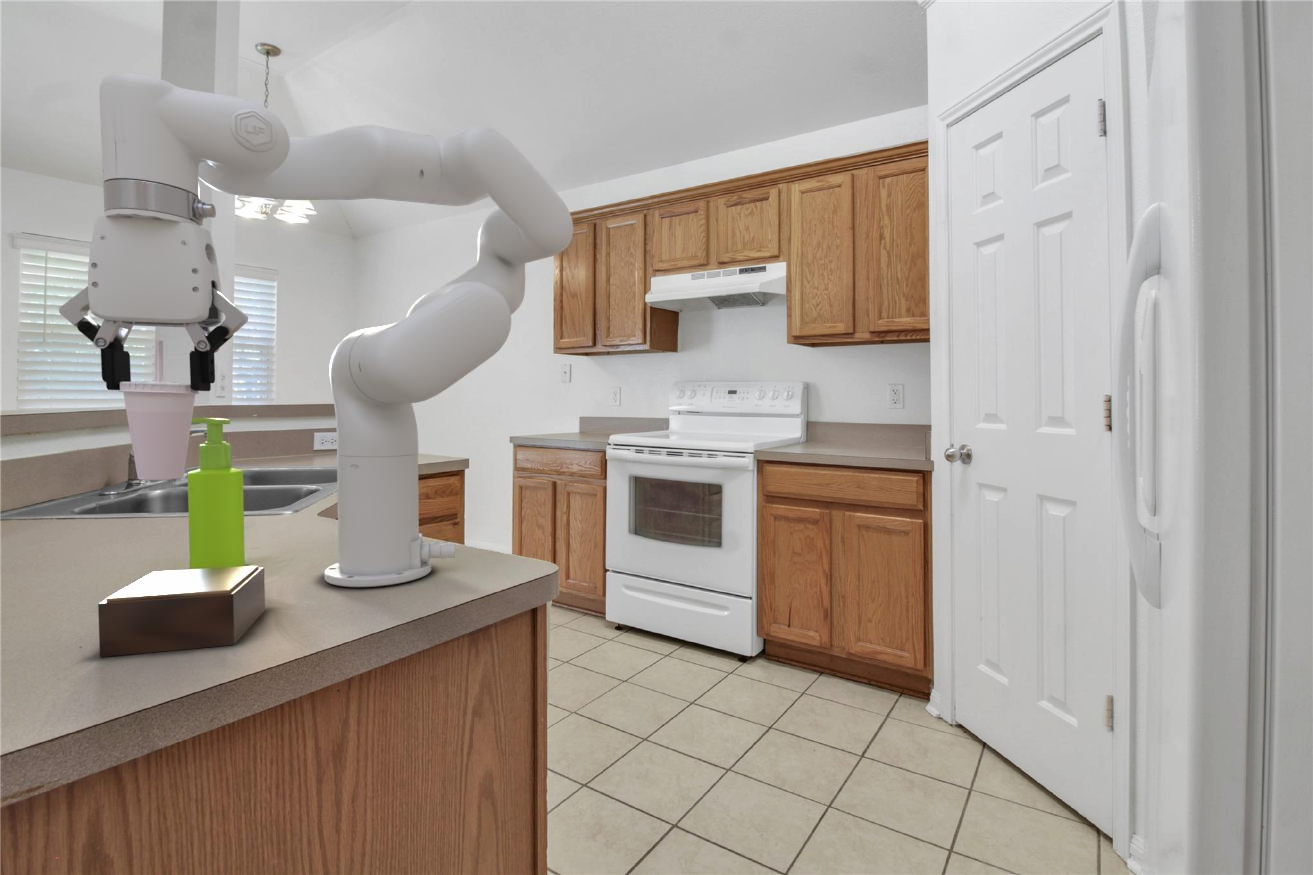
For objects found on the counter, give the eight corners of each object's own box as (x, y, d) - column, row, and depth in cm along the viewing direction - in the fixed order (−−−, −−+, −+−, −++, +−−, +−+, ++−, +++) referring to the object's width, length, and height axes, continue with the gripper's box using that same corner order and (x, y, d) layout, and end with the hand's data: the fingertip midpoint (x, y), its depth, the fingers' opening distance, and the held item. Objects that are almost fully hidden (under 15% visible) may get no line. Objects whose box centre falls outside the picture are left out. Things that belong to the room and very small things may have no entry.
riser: (265, 610, 67) (264, 564, 66) (234, 644, 57) (233, 590, 57) (152, 619, 64) (150, 570, 63) (99, 657, 54) (97, 600, 54)
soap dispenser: (209, 564, 86) (206, 417, 85) (255, 566, 85) (252, 418, 84) (170, 575, 80) (166, 418, 79) (219, 577, 79) (216, 418, 78)
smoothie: (195, 473, 69) (194, 344, 68) (204, 479, 64) (203, 341, 63) (118, 476, 64) (116, 339, 64) (121, 483, 60) (120, 335, 59)
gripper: (263, 228, 69) (268, 391, 70) (70, 214, 64) (78, 390, 65) (239, 208, 62) (245, 390, 63) (20, 190, 57) (30, 388, 58)
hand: (160, 388), depth 64 cm, fingers closed on smoothie, 6 cm apart
